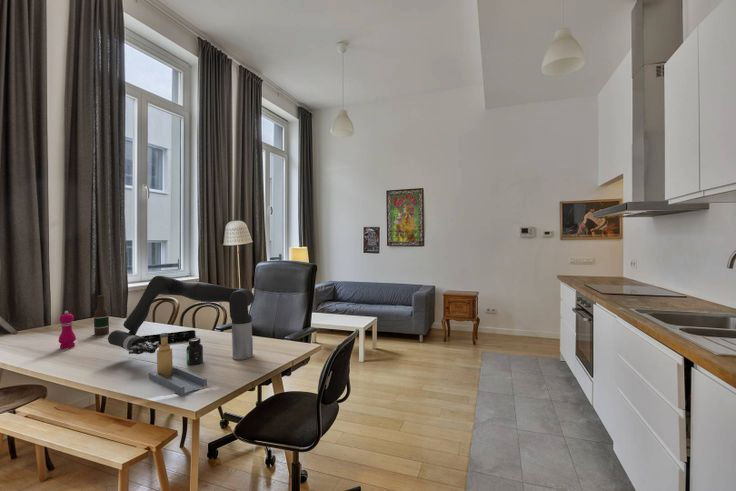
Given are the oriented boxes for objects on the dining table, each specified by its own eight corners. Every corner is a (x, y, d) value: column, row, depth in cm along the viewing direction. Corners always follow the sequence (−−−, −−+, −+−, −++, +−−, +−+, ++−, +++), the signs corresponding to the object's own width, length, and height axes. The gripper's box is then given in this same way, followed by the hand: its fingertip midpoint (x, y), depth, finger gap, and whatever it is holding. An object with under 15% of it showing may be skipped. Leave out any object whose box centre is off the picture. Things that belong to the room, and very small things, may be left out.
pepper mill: (78, 346, 196) (77, 310, 195) (63, 350, 189) (62, 312, 189) (71, 344, 199) (70, 309, 198) (55, 348, 192) (54, 311, 192)
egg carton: (199, 340, 206) (199, 333, 206) (138, 351, 188) (138, 343, 188) (192, 334, 220) (192, 328, 220) (135, 343, 202) (135, 336, 202)
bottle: (173, 372, 152) (172, 331, 152) (172, 377, 147) (171, 334, 147) (158, 375, 150) (157, 332, 150) (156, 379, 145) (155, 336, 145)
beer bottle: (97, 336, 216) (96, 296, 215) (91, 334, 220) (90, 295, 219) (111, 333, 222) (110, 295, 222) (106, 331, 226) (105, 294, 226)
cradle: (149, 381, 146) (148, 372, 146) (173, 373, 155) (173, 365, 154) (181, 396, 131) (181, 387, 131) (207, 387, 140) (206, 378, 139)
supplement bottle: (186, 368, 160) (185, 342, 160) (187, 363, 166) (186, 338, 166) (203, 366, 163) (202, 340, 163) (203, 361, 169) (202, 336, 169)
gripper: (119, 339, 159) (136, 346, 149) (150, 332, 170) (168, 338, 160) (119, 356, 159) (136, 363, 149) (151, 348, 170) (169, 355, 160)
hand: (153, 350), depth 154 cm, fingers closed
